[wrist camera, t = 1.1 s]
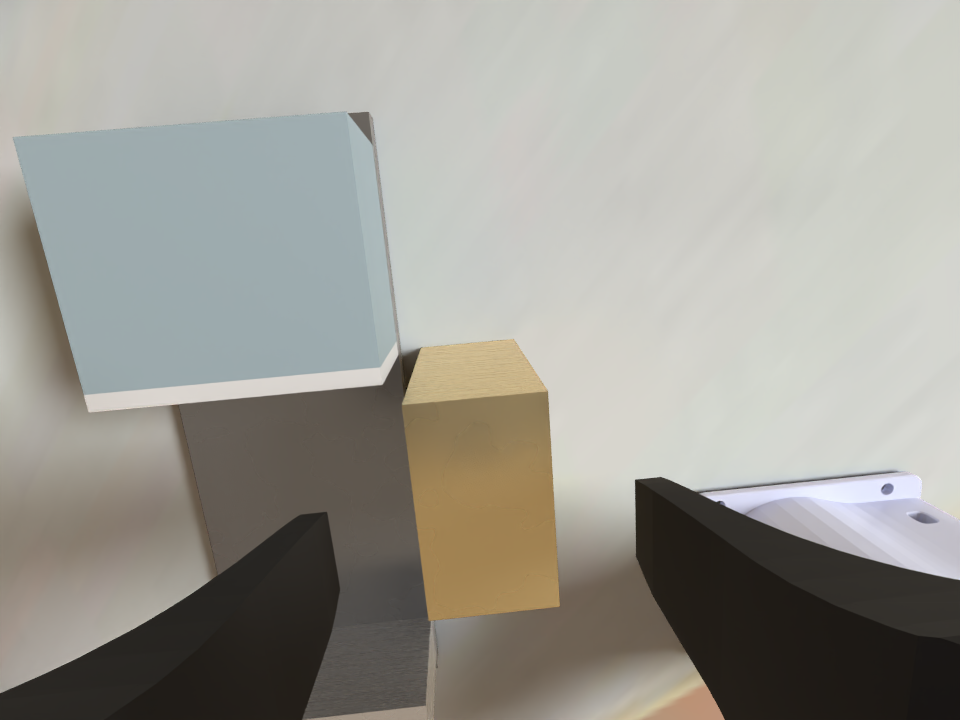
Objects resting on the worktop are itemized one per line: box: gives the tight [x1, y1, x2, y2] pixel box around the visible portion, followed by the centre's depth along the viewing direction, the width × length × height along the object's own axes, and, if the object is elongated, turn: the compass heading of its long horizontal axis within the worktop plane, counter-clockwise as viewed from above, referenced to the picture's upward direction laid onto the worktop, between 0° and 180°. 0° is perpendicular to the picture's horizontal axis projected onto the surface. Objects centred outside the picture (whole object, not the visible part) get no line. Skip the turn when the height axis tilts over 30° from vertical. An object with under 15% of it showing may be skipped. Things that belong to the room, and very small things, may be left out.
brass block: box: [402, 339, 560, 621], centre depth 16 cm, size 4×6×7 cm, turn 5°
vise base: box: [178, 112, 438, 720], centre depth 17 cm, size 8×22×5 cm, turn 5°
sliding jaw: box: [13, 112, 398, 413], centre depth 15 cm, size 8×7×4 cm
